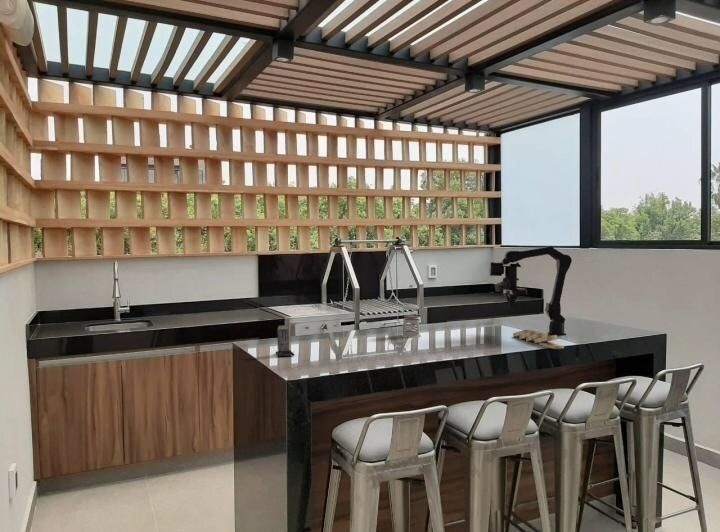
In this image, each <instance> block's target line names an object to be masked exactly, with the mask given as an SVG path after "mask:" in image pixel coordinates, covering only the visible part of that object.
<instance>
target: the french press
mask: <svg viewBox="0 0 720 532" xmlns="http://www.w3.org/2000/svg"><path fill="white" fill-rule="evenodd" d="M409 288H414V285H413V284H410V285H409ZM402 309H403V310H400V311H399V312H398V314H397V322H398V324H399V325H400V326H401V327H402V334H401V335H402V336H403V338H407V337H411V339H412V338H414V337H415V338H416V337H417V338H421V337H422V335H421V334H420V318H419V315H416V314H414V315H413V314H406V315H404V313H405V312H404V310H406V311H408V310H410V311H413V310H415V311H417V310H420V307H419V306H418V305H414V304H413V303H410V304H408V305H405V306H404V307H402ZM401 313H402V314H403V315H404V316H403V319H402V320H403V321H402V322H403V324H402V323H400V321H399V315H400V314H401ZM402 336H401V337H402Z"/></svg>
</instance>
